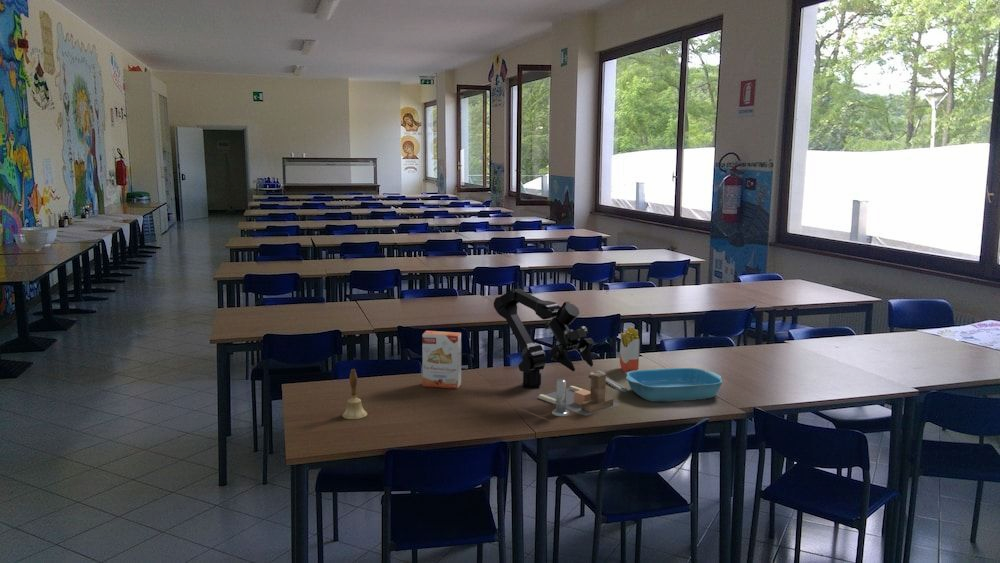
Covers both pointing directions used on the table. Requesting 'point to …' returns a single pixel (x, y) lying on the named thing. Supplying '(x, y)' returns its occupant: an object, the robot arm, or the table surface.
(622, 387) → the adjustable wrench
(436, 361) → the cracker box
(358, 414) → the hand bell
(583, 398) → the terracotta block
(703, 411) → the table surface
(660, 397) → the casserole dish
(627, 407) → the table surface
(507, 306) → the robot arm
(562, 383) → the grey metal stick
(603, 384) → the wooden block on base
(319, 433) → the table surface
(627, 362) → the french fries container
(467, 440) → the table surface
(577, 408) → the mat
